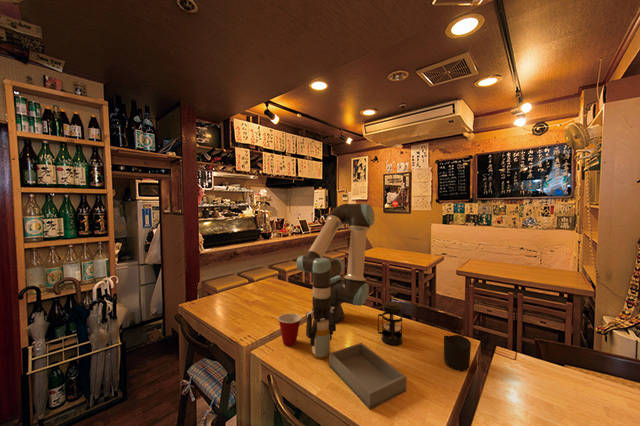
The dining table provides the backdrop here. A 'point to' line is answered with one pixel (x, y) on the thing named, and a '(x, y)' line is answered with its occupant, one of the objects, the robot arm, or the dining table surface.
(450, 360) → the pen holder
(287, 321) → the plastic cup
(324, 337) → the bottle
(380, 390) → the crate
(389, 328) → the french press
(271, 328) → the dining table surface
